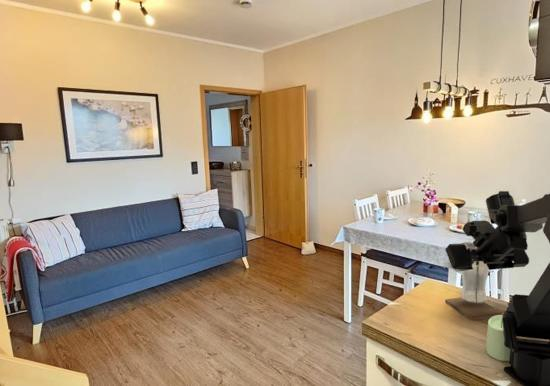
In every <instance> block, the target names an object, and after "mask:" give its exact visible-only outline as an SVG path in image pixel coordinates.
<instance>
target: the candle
mask: <svg viewBox="0 0 550 386" xmlns="http://www.w3.org/2000/svg"><path fill="white" fill-rule="evenodd" d="M502 318H503V314H501V315H496V316H493V317H490V318H488V322H487V331H486V334H487V335H486V345H485V346H486V347H485V352H486V353H487V355H489V356H490V357H491V358H493V359H495V360H497V361H500V362H501V361H502V362H509V360H510V349H509V348H508V347H505V345H504V334H503V323H502Z"/></svg>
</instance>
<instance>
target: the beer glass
mask: <svg viewBox="0 0 550 386" xmlns="http://www.w3.org/2000/svg"><path fill="white" fill-rule="evenodd" d="M473 242H474V241H465V242H461V244H464V245H465V246H466V248H467V250H468V252H476V249H477V247H475V246H474V244H473ZM472 267H473V269H472V270H466V271H460V274H461V279H462V290H461V294H460V297H461V298H462V299H463V300H465V301H467V302H471V303H486V302H488V301H487V297H488V296H487V293H486V285H487V279H488V276H489V271H490V270H489V267H490V264H484V263H483V262H474V263H473V264H472Z"/></svg>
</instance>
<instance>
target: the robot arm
mask: <svg viewBox="0 0 550 386" xmlns="http://www.w3.org/2000/svg"><path fill="white" fill-rule="evenodd" d="M485 204H486V208H487V213H488V217H489V221H487V220H472V221H468V222H467V221H466V223H465V224H464V225H463V226H462V227H463V228H462V232H463V233H464V234H465V235H466V236H467V237H471V238H473V241H472V242H473V244H474V246H475V247H477V249H476V252H468V250H467V248H466V246H465V245H464V244H462V243H449V244H448V245H447V246H446V247H445V252H446V255H447V257H448V260H449V263H450V266H451V268H453V270H458V271H459V272H461V271H466V270H472V269H473V267H472V264H473V263H474V262H483V263H484V264H490V267H489V271H492V270H493V271H494V270H503V269H514V268H525V267H526V266H528V265H529V264H530V258H529V257H530V256H529V255H528V253H527V252H526V251H527V250H528V242H527V238H528V237H527V234H526V233H536V232H539V231H541V229H542V232H543V234H544V235H545V237H546V239H547V241H548V242H549V244H550V192H549V193H548V194H547V193H546V194H544V195H543V196H542V197H539V198H537V199H535V200H532V201H530V202H527V203H524V204H522V205H521V204H518V205H517V204H516V203H515V200H514V197H513V196H512V195H511V194H510V191H508V190H507V191H506V190H502V191H501V190H499V191H498V193H495V194H492V195H490V196H488V197H487V198H486V199H485ZM493 225H496V227H495V226H493ZM543 225H544V226H543ZM507 306H508V307H506V310H505V311H504V312H503V314H502V315H503V318H502V323H503V334H504V345H505V347H508V348H509V349H510V360H509V361H508V363H509V365H507V366H504V367H503V371H504V372H506V373H507V374H508V375H509V376H510V377H512V378H513V379H515V381H518V382H519V383H520V384H521V385H523V386H550V262H548V264H547V266H546V268H545V269H544V270H543V272H542V274H541V276H540V277H539V278H538V280H537V281H536V284H535V285H534V287H533V288H532V289H531V291H530V292H529V294H528V295H527V294H517V293H515V294H513V295H512V297H511V299H510V301H509V302H508V303H507Z"/></svg>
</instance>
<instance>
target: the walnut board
mask: <svg viewBox="0 0 550 386" xmlns="http://www.w3.org/2000/svg"><path fill="white" fill-rule="evenodd" d="M444 303H445V304H446V305H448V306H449V307H451V308H452V309H454V310H455V311H457V312H459V314H461V315H463V316H464V317H465V318H468V319H469V320H470V321H477V320H482V319H490V318H491V317H493V316H496V315H503V314H502V313H503V312H502V311H501V310H499V309H496V308H495V307H493V306H491V305H489V304H488V303H486V302H485V303H471V302H467V301H465V300H463V299H462V298H461V296H460V297H454V298H446V299H445V301H444Z"/></svg>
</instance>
